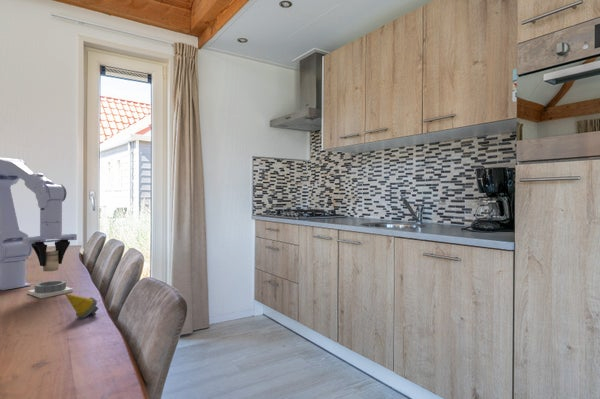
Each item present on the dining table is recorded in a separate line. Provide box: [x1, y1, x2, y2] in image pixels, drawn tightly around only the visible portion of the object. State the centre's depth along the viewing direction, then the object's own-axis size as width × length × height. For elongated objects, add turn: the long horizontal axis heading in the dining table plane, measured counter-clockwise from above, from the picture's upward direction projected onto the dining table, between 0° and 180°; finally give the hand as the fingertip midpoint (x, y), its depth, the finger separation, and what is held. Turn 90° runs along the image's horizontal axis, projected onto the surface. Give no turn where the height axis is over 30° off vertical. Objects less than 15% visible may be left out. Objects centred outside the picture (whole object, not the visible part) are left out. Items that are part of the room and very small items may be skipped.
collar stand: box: [27, 279, 74, 299], centre depth 114 cm, size 9×9×3 cm
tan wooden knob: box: [42, 249, 59, 272], centre depth 114 cm, size 4×4×6 cm
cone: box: [64, 293, 99, 319], centre depth 91 cm, size 5×5×10 cm
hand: (50, 264), depth 114 cm, fingers closed on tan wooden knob, 4 cm apart
